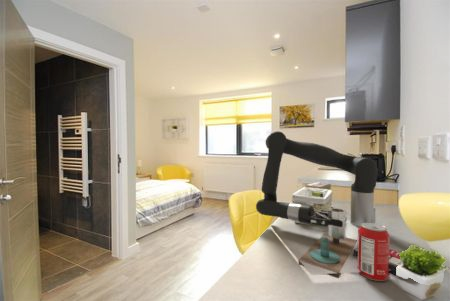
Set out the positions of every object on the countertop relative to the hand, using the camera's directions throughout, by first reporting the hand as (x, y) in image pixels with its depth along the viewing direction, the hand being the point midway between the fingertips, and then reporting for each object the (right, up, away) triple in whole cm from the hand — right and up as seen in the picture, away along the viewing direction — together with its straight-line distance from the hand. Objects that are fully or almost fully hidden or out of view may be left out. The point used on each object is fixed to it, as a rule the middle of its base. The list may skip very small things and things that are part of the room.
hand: (344, 221), depth 85 cm
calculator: (+7, -11, -11) cm, 17 cm away
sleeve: (-2, -6, +2) cm, 7 cm away
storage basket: (+1, -9, +33) cm, 34 cm away
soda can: (-1, -11, -18) cm, 21 cm away
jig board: (-7, -10, -4) cm, 13 cm away
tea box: (+13, -9, +56) cm, 59 cm away
